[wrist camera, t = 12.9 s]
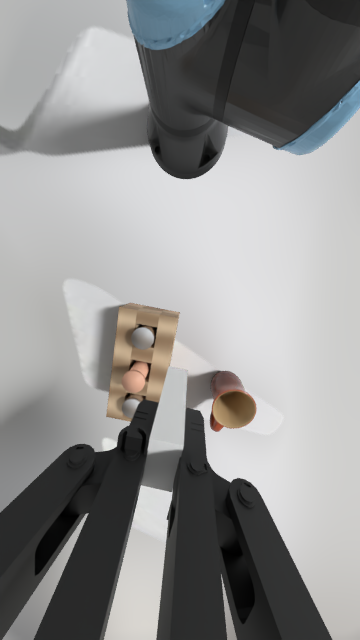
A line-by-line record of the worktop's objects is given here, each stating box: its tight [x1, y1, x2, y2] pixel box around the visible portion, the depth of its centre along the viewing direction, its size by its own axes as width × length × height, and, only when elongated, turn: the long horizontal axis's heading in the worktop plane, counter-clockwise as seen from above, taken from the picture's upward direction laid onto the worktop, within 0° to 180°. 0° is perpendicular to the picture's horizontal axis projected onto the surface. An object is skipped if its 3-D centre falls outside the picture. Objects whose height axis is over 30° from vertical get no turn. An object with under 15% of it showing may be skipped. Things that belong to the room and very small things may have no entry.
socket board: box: [107, 303, 180, 422], centre depth 43 cm, size 26×12×7 cm, turn 169°
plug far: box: [122, 393, 146, 418], centre depth 44 cm, size 4×4×9 cm
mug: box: [210, 371, 256, 432], centre depth 42 cm, size 12×9×10 cm
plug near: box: [131, 325, 158, 350], centre depth 40 cm, size 4×4×9 cm
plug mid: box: [122, 360, 152, 393], centre depth 40 cm, size 4×4×9 cm
